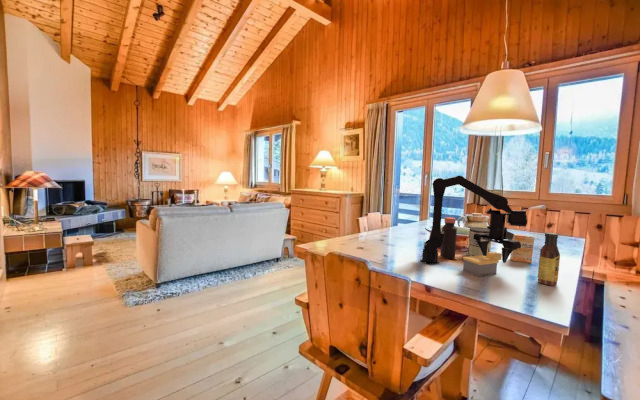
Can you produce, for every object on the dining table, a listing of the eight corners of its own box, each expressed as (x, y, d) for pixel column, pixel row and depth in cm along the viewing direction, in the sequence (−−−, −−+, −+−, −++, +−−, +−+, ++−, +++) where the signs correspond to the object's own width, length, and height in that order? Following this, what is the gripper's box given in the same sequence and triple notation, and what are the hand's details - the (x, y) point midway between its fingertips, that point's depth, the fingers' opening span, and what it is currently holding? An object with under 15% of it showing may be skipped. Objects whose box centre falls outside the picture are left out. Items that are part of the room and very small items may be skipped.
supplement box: (512, 261, 145) (514, 234, 144) (510, 258, 150) (512, 233, 149) (532, 263, 142) (534, 236, 141) (529, 260, 147) (531, 234, 146)
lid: (479, 265, 121) (480, 258, 121) (463, 259, 129) (463, 252, 129) (506, 261, 127) (507, 255, 127) (489, 256, 135) (489, 250, 135)
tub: (478, 276, 122) (479, 264, 122) (463, 270, 130) (463, 259, 129) (496, 274, 126) (497, 262, 125) (479, 268, 133) (480, 257, 133)
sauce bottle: (558, 287, 112) (563, 236, 110) (537, 284, 115) (542, 233, 113) (555, 282, 118) (561, 233, 116) (536, 279, 121) (541, 231, 119)
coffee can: (464, 252, 159) (466, 226, 158) (484, 253, 158) (486, 227, 157) (472, 258, 149) (474, 230, 147) (494, 259, 148) (496, 231, 146)
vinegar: (437, 255, 152) (439, 217, 150) (448, 255, 154) (451, 216, 152) (446, 259, 145) (448, 219, 143) (457, 258, 147) (460, 219, 145)
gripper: (531, 227, 123) (528, 264, 125) (491, 220, 140) (488, 252, 142) (513, 229, 119) (509, 266, 121) (473, 221, 136) (471, 254, 138)
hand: (494, 259), depth 130 cm, fingers open, 9 cm apart
